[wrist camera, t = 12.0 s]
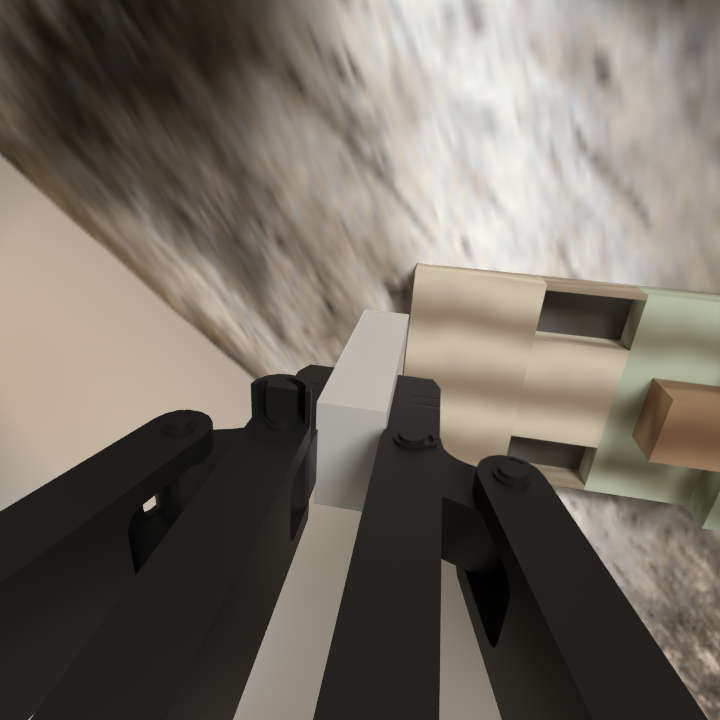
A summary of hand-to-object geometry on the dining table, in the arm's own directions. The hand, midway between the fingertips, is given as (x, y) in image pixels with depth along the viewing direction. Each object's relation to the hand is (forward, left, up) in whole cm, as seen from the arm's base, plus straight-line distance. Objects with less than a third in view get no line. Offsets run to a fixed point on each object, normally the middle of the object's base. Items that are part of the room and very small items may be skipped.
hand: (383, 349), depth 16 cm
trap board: (+13, +15, -28) cm, 35 cm away
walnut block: (+13, +25, -25) cm, 38 cm away
